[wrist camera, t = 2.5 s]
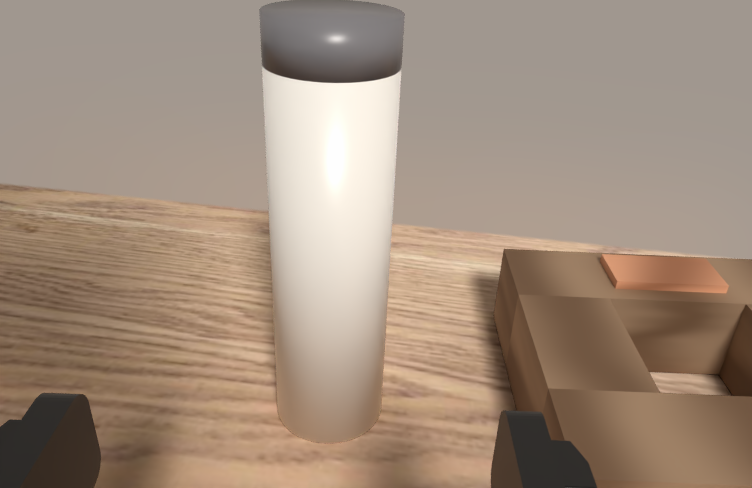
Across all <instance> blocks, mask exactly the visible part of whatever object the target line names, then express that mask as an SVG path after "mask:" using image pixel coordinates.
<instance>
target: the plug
mask: <svg viewBox="0 0 752 488" xmlns="http://www.w3.org/2000/svg"><path fill="white" fill-rule="evenodd" d="M404 16H405V14H404V12H402V11H401V10H399V9H396V8H394V7H390V6H386V5H381V4H376V3H369V2H361V1H350V0H290V1H281V2H275V3H271V4H268V5H265V6H263V7H261V8H260V33H261V52H262V53H261V54H262V77H263V96H264V97H263V98H264V120H265V141H266V142H265V143H266V164H267V185H268V186H267V187H268V209H269V231H270V253H271V275H272V297H273V319H274V341H275V363H276V385H277V407H278V414H279V417H280V420H281V422H282V423H283V424H284V426H285V427H286V428H287V429H288V430H289V431H290V432H292V433H293V434H295V435H296V436H298V437H300V438H302V439H305V440H308V441H311V442H316V443H325V444H326V443H341V442H345V441H349V440H352V439H355V438H357V437H359V436H361V435H363V434H364V433H366V432H367V431H368V430H370V429H371V428H372V427H373V426H374V424H375V423H376V421H377V420H378V418H379V416H380V412H381V403H382V386H383V369H384V352H385V335H386V318H387V302H388V285H389V268H390V251H391V234H392V218H393V200H394V184H395V167H396V150H397V132H398V117H399V99H400V82H401V65H402V49H403V33H404Z"/></svg>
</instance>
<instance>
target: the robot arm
mask: <svg viewBox="0 0 752 488" xmlns="http://www.w3.org/2000/svg"><path fill="white" fill-rule="evenodd" d="M100 461H101V455H100V448H99V444H98V439H97V435H96V431H95V427H94V423H93V418H92V414H91V410H90V406H89V402H88V399H87V397H86V396H85V395H83V394H61V393H42V394H40V395H39V396H38V397H37V398H36V399H35V401H34V402H33V404H32V405H31V407H30V408H29V409H28V411H27V412H26V414H25V415H24V417H23V418H22V420H9V421H7V422H6V423H5V424H3V425H2V426H1V427H0V488H94V486H95V483H96V481H97V478H98V474H99V469H100ZM491 488H597V485H596V482H595V480H594V477H593V474H592V471H591V468H590V465H589V463H588V461H587V460H586V459H585V458H584V457H583V455H582V454H581V453H580V452H579V451H578V450H577V448H576V447H575V446H574V445H573V444H572V443H571V441H561V440H551V438H550V435H549V432H548V428H547V425H546V421H545V418H544V416H543V414H542V413H541V412H533V411H504V410H503V411H502V412H501V415H500V419H499V425H498V431H497V437H496V443H495V449H494V455H493V461H492V469H491Z"/></svg>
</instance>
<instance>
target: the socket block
mask: <svg viewBox="0 0 752 488" xmlns="http://www.w3.org/2000/svg"><path fill="white" fill-rule="evenodd" d="M493 316H494V320H495V324H496V328H497V332H498V336H499V340H500V344H501V349H502V353H503V357H504V361H505V365H506V369H507V373H508V377H509V381H510V385H511V389H512V393H513V397H514V402H515V406H516V410H517V411H533V412H541V413H542V414H543V416H544V418H545V421H546V425H547V428H548V432H549V435H550V438H551V440H561V441H571V443H572V444H573V445H574V446H575V447H576V448H577V450H578V451H579V452H580V453H581V454H582V455H583V457H584V458H585V459H586V460H587V461H588V463H589V465H590V468H591V471H592V474H593V477H594V480H595V482H596V485H597V488H752V260H750V259H727V258H703V257H679V256H656V255H632V254H608V253H585V252H561V251H538V250H514V249H504V252H503V258H502V265H501V271H500V277H499V283H498V290H497V296H496V302H495V309H494V315H493ZM649 372H670V373H694V374H719V376H720V377H721V379H722V380H723V382H724V383H725V385H726V386H727V388H728V389H729V391H730V392H731V394H732V395H733V396H722V395H698V394H673V393H660V392H659V390H658V388H657V386H656V384H655V382H654V381H653V379H652V377H651V375H650V373H649Z"/></svg>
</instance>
